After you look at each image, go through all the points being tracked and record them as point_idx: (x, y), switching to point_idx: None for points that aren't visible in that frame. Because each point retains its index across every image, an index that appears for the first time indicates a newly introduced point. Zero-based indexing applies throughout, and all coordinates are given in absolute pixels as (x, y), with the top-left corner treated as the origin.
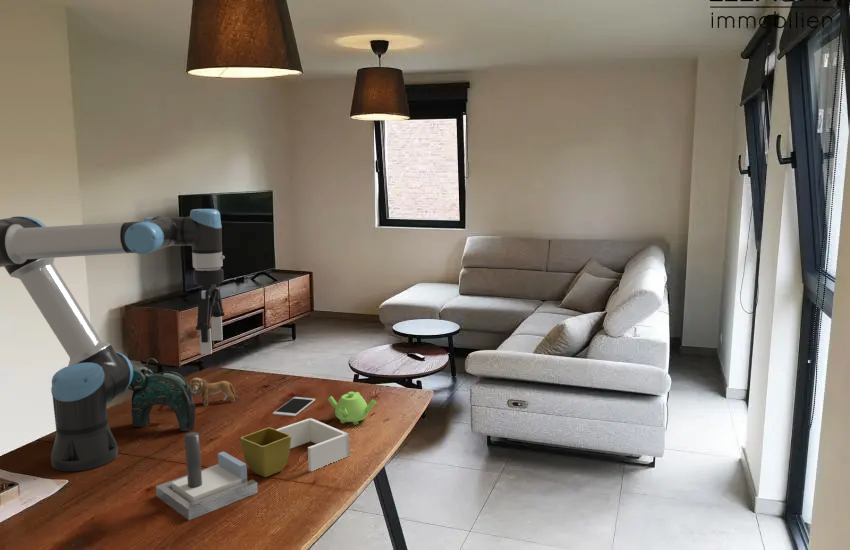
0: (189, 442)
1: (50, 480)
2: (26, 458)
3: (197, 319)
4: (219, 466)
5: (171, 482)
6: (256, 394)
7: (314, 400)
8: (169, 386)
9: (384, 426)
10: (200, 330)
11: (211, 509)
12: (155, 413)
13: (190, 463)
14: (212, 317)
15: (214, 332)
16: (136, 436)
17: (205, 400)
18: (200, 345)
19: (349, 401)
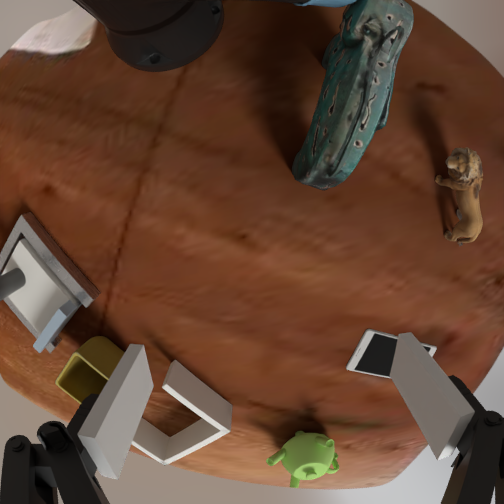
0: None
1: (92, 20)
2: None
3: (2, 480)
4: (66, 301)
5: (30, 234)
6: (470, 273)
7: None
8: (323, 121)
9: (273, 470)
10: (82, 435)
11: None
12: (401, 79)
13: None
14: (460, 422)
15: (414, 370)
16: (272, 68)
17: (443, 180)
18: (113, 372)
19: (292, 470)
